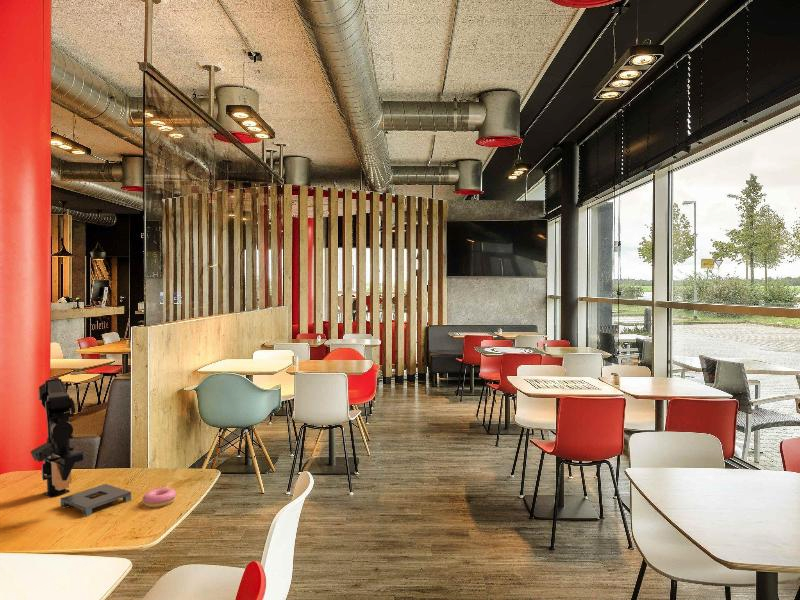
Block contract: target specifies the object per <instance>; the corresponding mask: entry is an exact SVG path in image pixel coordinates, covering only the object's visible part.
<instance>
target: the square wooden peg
mask: <svg viewBox="0 0 800 600" xmlns="http://www.w3.org/2000/svg"><path fill="white" fill-rule="evenodd" d="M56 462H60V461H59V459H58V460H54V461H51V467H52V485H53V486H55V489H56V490H62V489H69V488H70V487H69V485H70V484H72V471H71V472H70V474H69V476H68V478H67V480H65V481H63V479H62V475H61V469H60V466H59V465H57V464H56Z"/></svg>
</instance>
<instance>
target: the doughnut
mask: <svg viewBox="0 0 800 600" xmlns="http://www.w3.org/2000/svg"><path fill="white" fill-rule="evenodd" d="M176 496H177V492H176V491H175V490H174V489H173V488H170V487H158V488H154V489H151V490H148V491H147V492H146V493H144V495H143V497H142V502H143V505H144V506H146V507H148V508H160V507H162V508H163V507H164V506H165V505H166V506H168V505H170V504H172V503H173V502H175V500H176V498H177V497H176ZM166 506H165V507H166Z"/></svg>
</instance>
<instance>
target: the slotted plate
mask: <svg viewBox="0 0 800 600" xmlns="http://www.w3.org/2000/svg"><path fill="white" fill-rule="evenodd" d="M100 494H101V495H100ZM98 495H100V496H98ZM94 496H98V497H94ZM92 497H94V498H92ZM120 499H122V502H124V501H125V503H127V502H129V501H130V502H131V501H132V491H130V490H127V489H124V488H120V487H117V486H114V485H111V484H107V483H104V484H100V485H97V486H95V487H91V488H88V489H85V490H82V491H79V492H76V493H72V494H70V495H67V496H64V497H60V508H63V507H65V508H68V507H70V506H73V507H74V508H75V507H76V508H79V509H80V510H82V516H84V515H85V517H88V516H87V515H89V516H91V515H93V509H94V508H96V507H99V506H102V505H105V504H108V503H111V502H114V501H117V500H120ZM67 506H68V507H67ZM90 514H91V515H90Z"/></svg>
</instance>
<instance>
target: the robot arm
mask: <svg viewBox="0 0 800 600" xmlns="http://www.w3.org/2000/svg"><path fill="white" fill-rule="evenodd" d="M38 401H40V404H41V406H42V407H43V408H44V409H45V413H46V414H45V415H46V417H45V418H46V426H47V427H46V429H47V438H46V442H45V443H43V444H41V445H39V446H37V447H36V448H34V449H32V450H30V455H31V457H32V459H33V461H37V462H38V463H41V462H43V463H41V464H42V465H41V477H42V478H41V479H42V481H46V491H44V492H42V494H43V495H45V496H47V497H50V498H53V497H56V496H57V497H58V496H61V495H63V494H66V493H69V492H70V491H71V490H70V489H69V488H66V489H62V490H56V489H55V486H53V485H52V467H51V461H54V460H58V459H59V461H60V462H56V464H57V465H59V466H60V469H61V475H62V479H63V481H65V480H67V478H68V476H69V474H70V472H71V473H72V470H73V468H74V466H75V464H76V463H79V462H81V461H84V460H85V454H84V453H83V452H82V451H80V450H74V447H73V446H71V439H73V438H74V435H73V433H74V427H73V425H72V424H71V421H70V418H72V417H75V414H76V406H75V400H74V399H73V397H71V396H70V394H69V393H67V387H66V383H64V382H63V381H62V378H53V379H52V378H51V379H50V378H49V379H46V380H45V381H44V383H43V384H40V385H39V387H38Z"/></svg>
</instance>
